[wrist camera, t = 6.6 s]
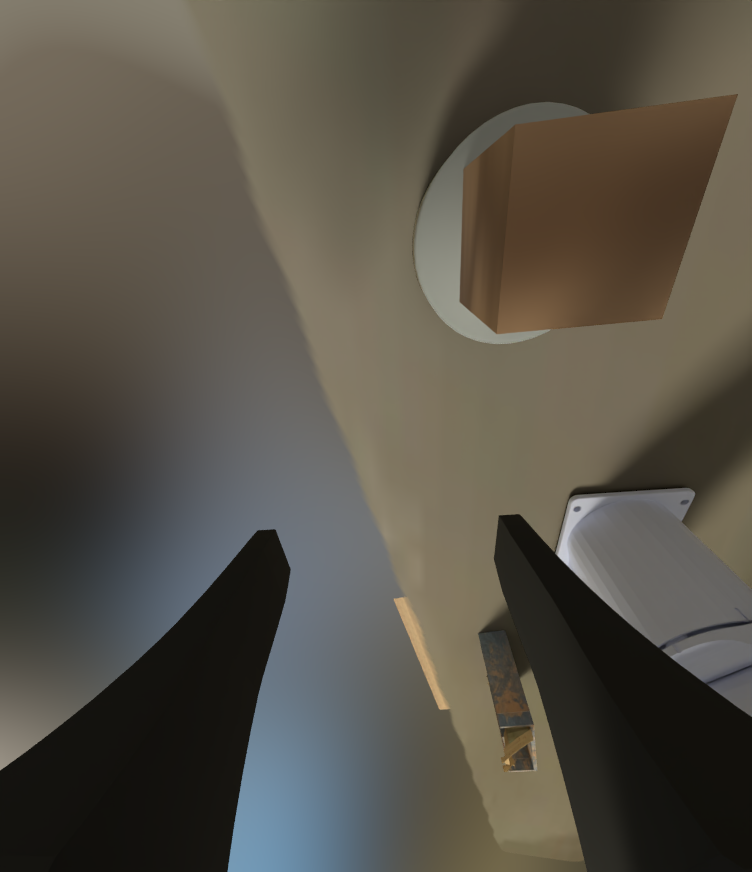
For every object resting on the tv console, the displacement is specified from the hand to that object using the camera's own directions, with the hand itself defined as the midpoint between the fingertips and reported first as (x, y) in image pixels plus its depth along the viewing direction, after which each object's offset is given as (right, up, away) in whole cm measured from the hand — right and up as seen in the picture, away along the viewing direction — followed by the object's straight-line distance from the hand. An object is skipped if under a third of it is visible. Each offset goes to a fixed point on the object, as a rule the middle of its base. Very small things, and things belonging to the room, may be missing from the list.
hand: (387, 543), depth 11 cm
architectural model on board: (+12, -20, +25) cm, 34 cm away
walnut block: (+5, +11, +2) cm, 13 cm away
